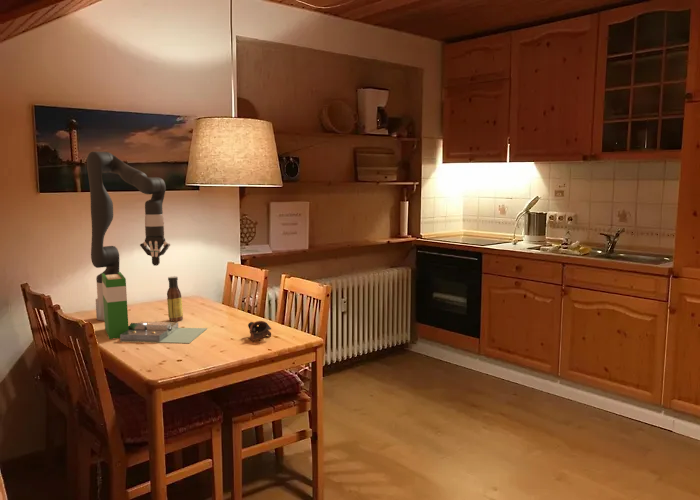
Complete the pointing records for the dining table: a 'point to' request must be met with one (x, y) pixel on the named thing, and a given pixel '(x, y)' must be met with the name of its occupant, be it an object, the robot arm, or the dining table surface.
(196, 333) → the mat
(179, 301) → the sauce bottle
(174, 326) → the pale grey flat block
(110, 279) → the hardback book
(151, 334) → the grey stepped block
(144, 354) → the dining table surface
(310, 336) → the dining table surface
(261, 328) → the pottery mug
